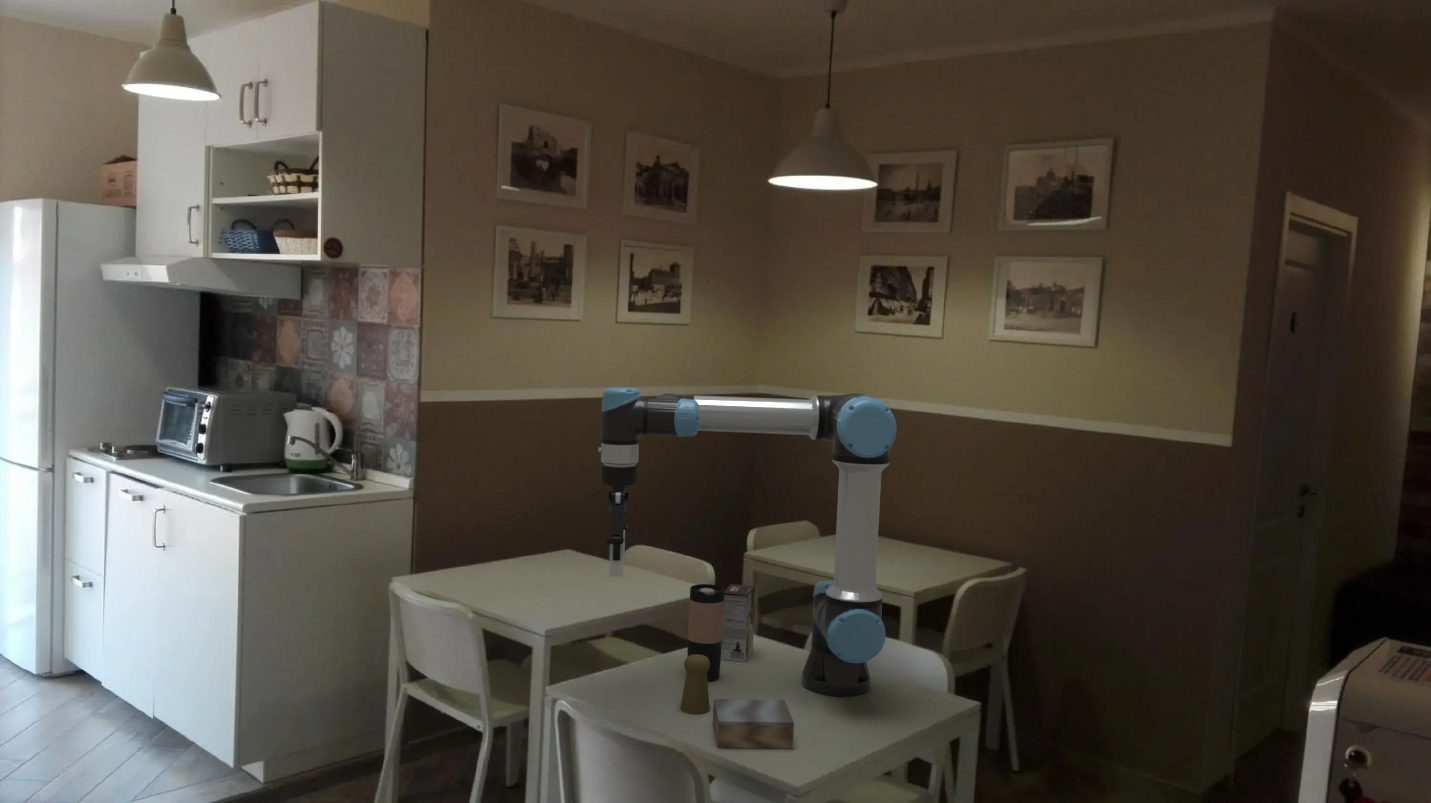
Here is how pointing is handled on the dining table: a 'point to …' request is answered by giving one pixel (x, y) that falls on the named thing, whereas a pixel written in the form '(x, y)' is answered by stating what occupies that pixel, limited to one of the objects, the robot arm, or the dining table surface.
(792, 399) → the robot arm
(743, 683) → the dining table surface
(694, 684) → the cork
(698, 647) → the travel mug
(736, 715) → the walnut stand
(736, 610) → the coffee box
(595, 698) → the dining table surface
